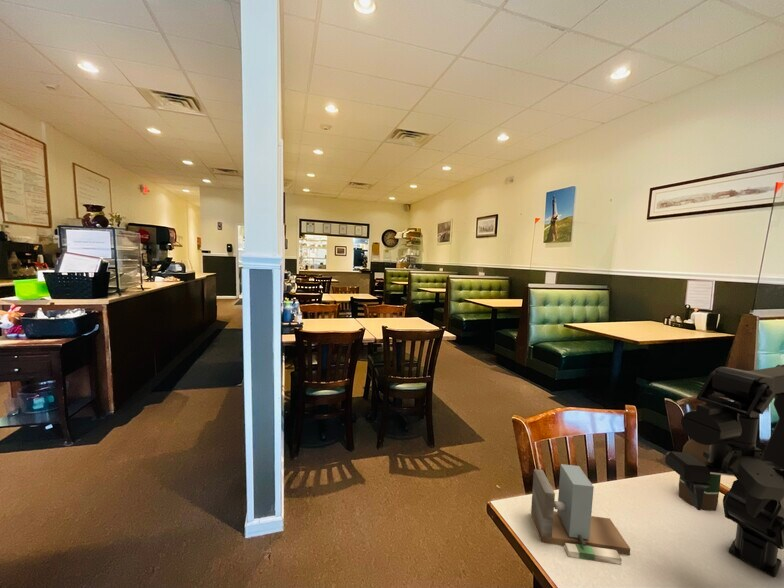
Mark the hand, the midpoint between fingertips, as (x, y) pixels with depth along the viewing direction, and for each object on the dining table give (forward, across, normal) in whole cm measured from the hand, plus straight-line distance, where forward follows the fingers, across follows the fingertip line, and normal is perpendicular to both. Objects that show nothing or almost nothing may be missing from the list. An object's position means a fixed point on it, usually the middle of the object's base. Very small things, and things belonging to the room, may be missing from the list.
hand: (723, 512), depth 61 cm
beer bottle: (+13, +13, +22) cm, 29 cm away
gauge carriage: (+11, -26, +4) cm, 28 cm away
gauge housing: (+13, -24, +4) cm, 27 cm away
